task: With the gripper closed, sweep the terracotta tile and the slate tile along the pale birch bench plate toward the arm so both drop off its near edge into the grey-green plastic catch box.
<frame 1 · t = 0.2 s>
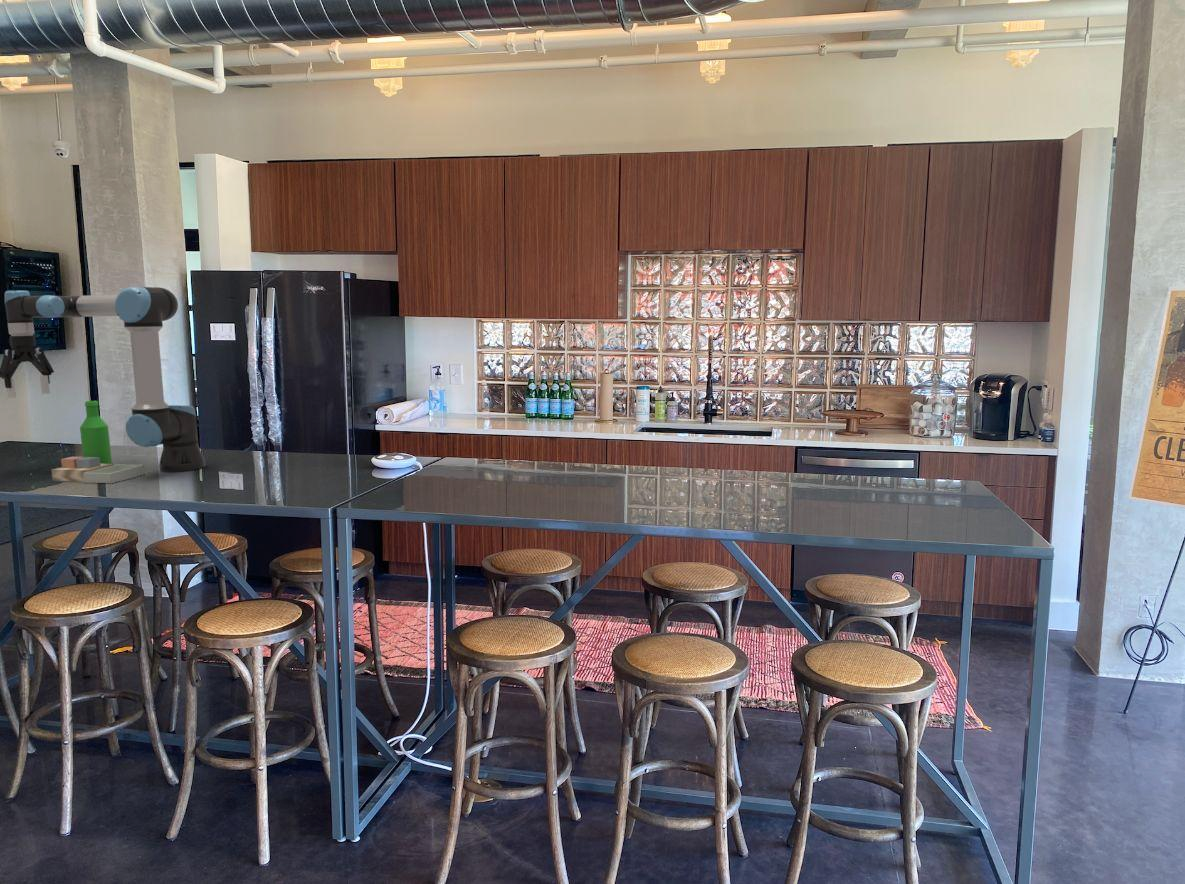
hand: (29, 395, 305), 28 cm above the table, fingers open, 13 cm apart
tile terracotta: (73, 466, 297), point 4 cm above the table, touching bench plate
tile slate: (88, 466, 296), point 4 cm above the table, touching bench plate
catch box: (115, 478, 295), on the table
bottle: (98, 469, 314), on the table
bench plate: (83, 478, 297), on the table
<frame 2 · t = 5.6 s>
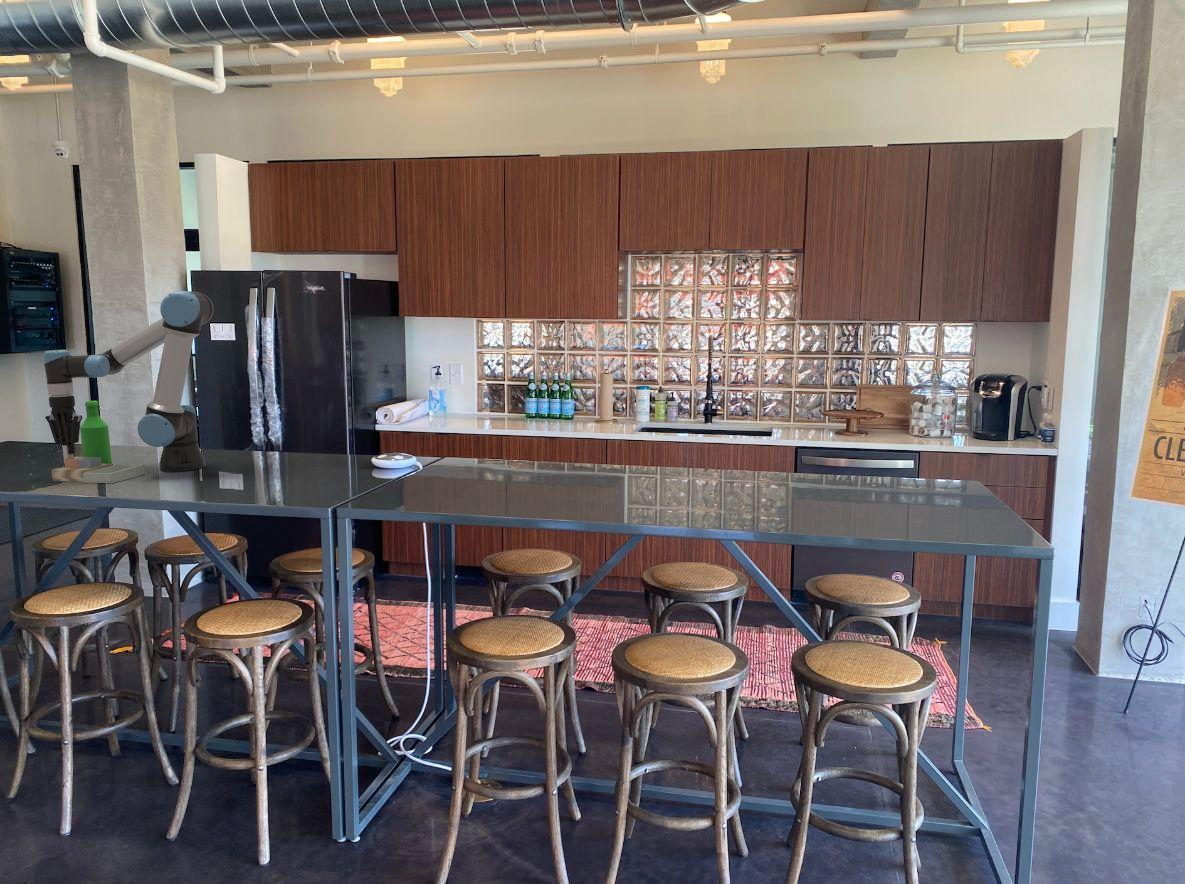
hand: (69, 463, 297), 5 cm above the table, fingers closed
tile terracotta: (77, 466, 297), point 4 cm above the table, touching gripper, tile slate
tile slate: (90, 466, 296), point 4 cm above the table, touching tile terracotta
everything else where it was.
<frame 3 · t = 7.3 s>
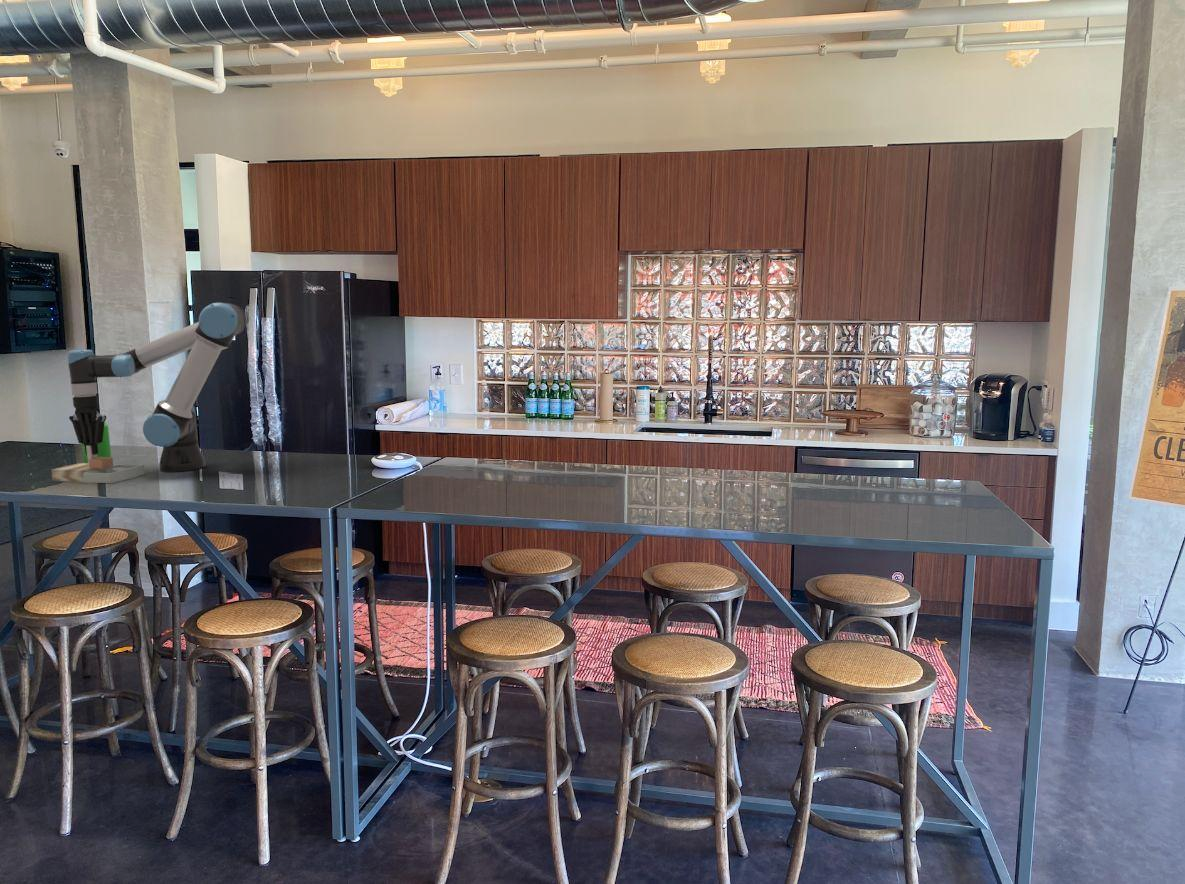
hand: (93, 463, 296), 5 cm above the table, fingers closed
tile terracotta: (101, 467, 295), point 4 cm above the table, touching gripper
tile slate: (117, 468, 294), point 3 cm above the table, tilted 180°, touching catch box
everything else where it was.
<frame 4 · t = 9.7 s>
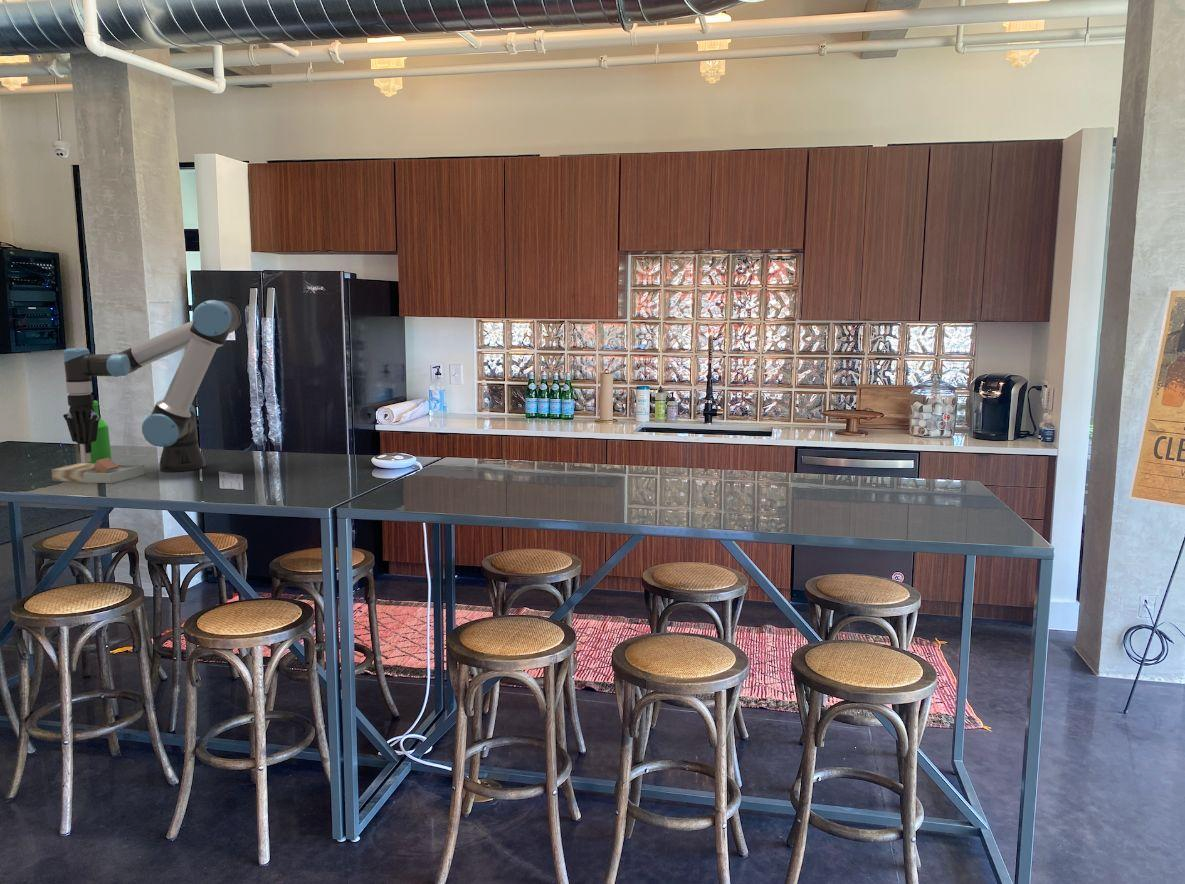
hand: (86, 462, 296), 6 cm above the table, fingers closed
tile terracotta: (104, 470, 295), point 3 cm above the table, tilted 35°, touching catch box, tile slate
tile slate: (119, 469, 294), point 3 cm above the table, tilted 180°, touching catch box, tile terracotta
everything else where it was.
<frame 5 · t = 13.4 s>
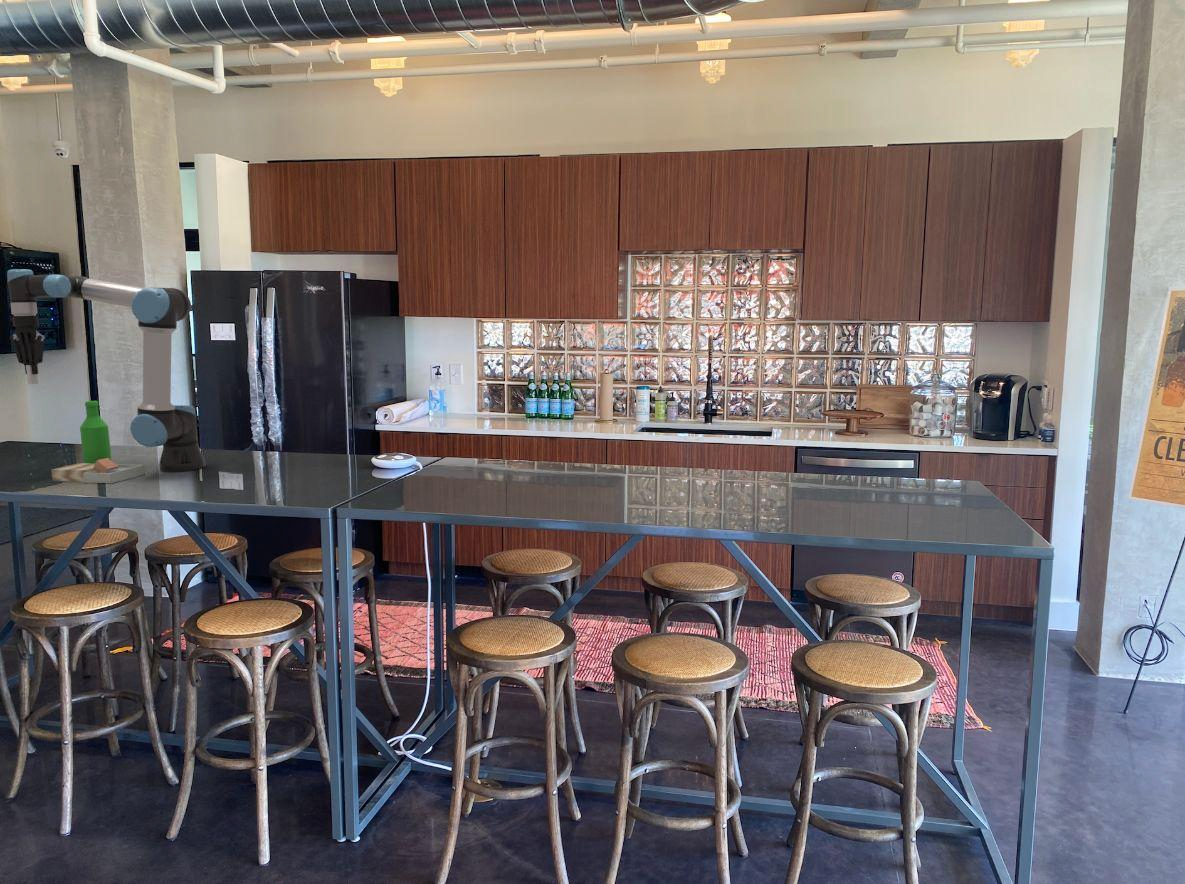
hand: (33, 383, 299), 32 cm above the table, fingers closed
nothing on the table moved.
at the end: tile terracotta inside the target area on the catch box (3.9 cm from its centre), point 3.0 cm above the catch box's base; tile slate inside the target area on the catch box (2.1 cm from its centre), point 3.5 cm above the catch box's base; tile terracotta point 3.0 cm above the table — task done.
